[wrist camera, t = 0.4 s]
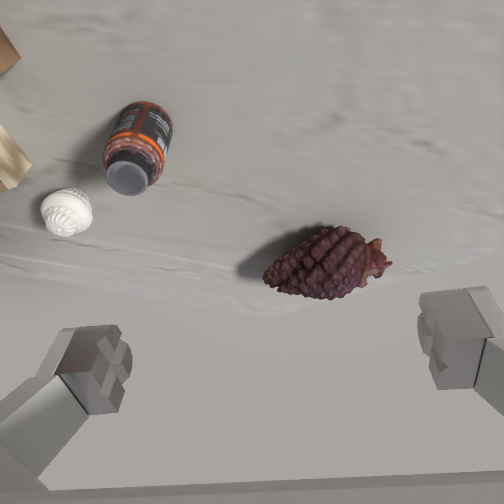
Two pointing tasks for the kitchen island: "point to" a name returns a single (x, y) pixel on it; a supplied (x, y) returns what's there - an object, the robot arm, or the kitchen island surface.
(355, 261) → the pine cone
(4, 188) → the peg box
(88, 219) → the white ribbed rounded lump
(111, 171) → the supplement bottle
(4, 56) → the peg
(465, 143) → the kitchen island surface
